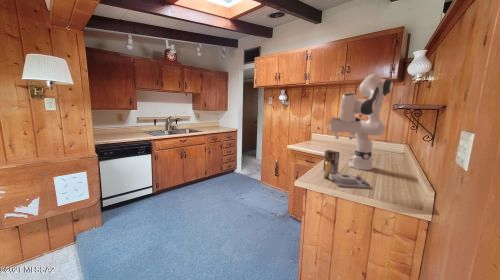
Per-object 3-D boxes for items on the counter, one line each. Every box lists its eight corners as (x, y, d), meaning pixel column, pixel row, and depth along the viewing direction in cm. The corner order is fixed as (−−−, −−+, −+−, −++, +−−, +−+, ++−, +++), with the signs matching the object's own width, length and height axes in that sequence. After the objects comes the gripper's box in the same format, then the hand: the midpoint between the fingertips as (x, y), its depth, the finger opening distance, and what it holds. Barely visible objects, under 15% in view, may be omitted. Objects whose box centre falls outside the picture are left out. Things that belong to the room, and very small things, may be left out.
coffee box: (338, 172, 160) (340, 152, 157) (333, 174, 156) (336, 153, 153) (327, 169, 167) (328, 149, 164) (322, 170, 163) (324, 150, 160)
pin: (323, 177, 148) (324, 161, 146) (328, 177, 148) (329, 161, 145) (324, 179, 145) (326, 162, 143) (329, 179, 144) (330, 162, 142)
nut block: (330, 176, 150) (331, 171, 149) (359, 178, 148) (360, 172, 147) (338, 186, 132) (339, 180, 131) (371, 188, 130) (372, 182, 129)
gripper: (332, 117, 134) (330, 138, 136) (364, 119, 134) (361, 140, 137) (328, 117, 140) (326, 137, 143) (358, 118, 141) (356, 138, 143)
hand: (343, 138), depth 140 cm, fingers open, 8 cm apart
